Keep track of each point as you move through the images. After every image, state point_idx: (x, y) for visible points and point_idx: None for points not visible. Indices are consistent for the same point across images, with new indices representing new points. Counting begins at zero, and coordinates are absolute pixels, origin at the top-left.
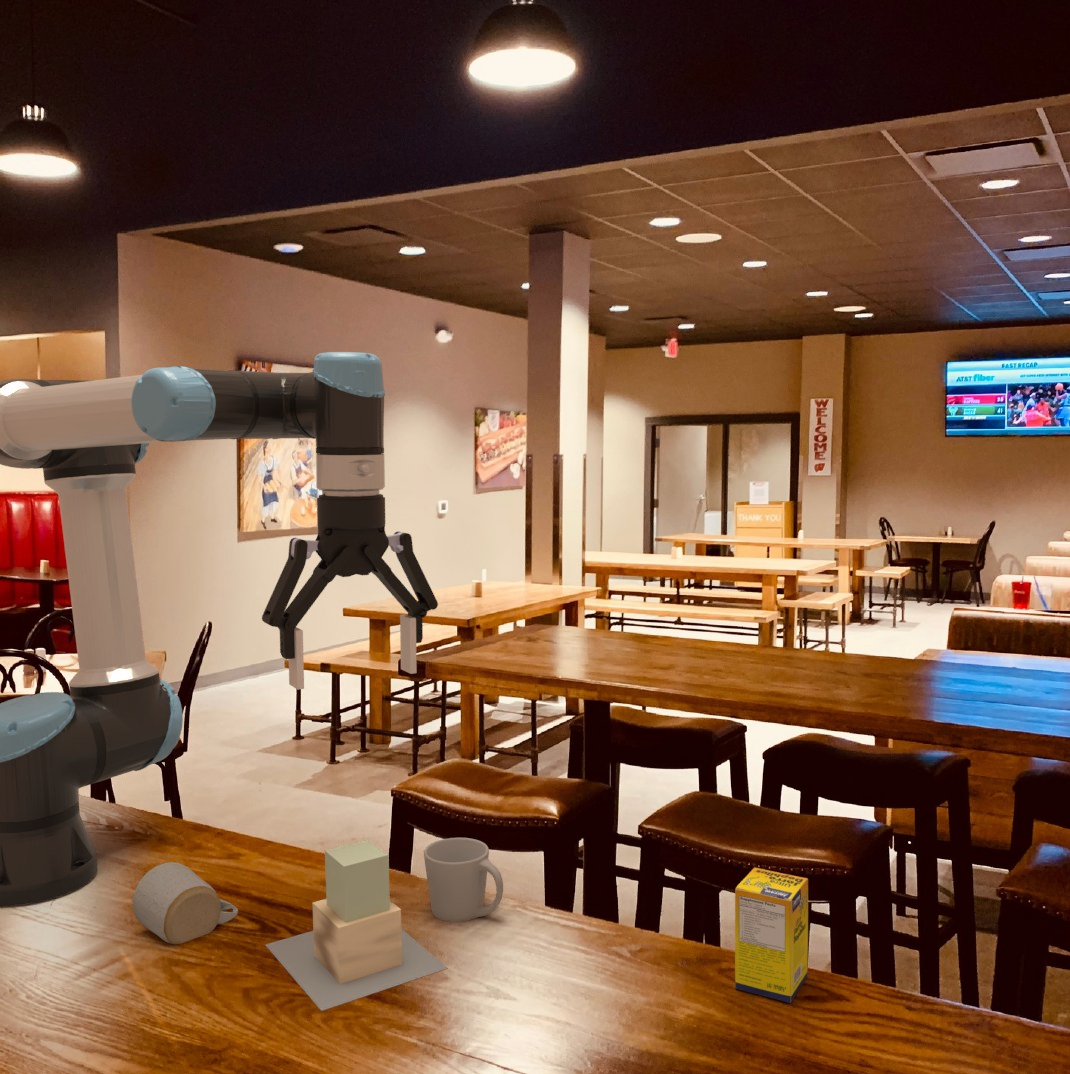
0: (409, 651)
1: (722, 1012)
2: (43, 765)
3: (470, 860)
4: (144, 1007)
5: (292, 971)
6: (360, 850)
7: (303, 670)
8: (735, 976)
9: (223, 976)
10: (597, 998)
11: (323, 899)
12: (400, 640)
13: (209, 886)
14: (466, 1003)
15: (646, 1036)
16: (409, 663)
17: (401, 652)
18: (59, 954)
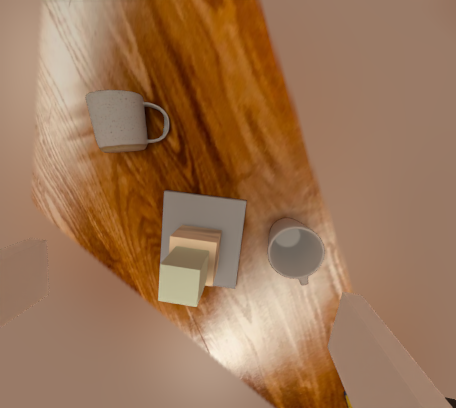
0: (357, 406)
1: (320, 396)
2: None
3: (290, 277)
4: (93, 197)
5: (164, 232)
6: (183, 284)
7: (2, 325)
8: (346, 398)
9: (138, 196)
10: (283, 349)
11: (177, 237)
12: (395, 370)
13: (129, 140)
14: (228, 308)
15: (276, 383)
16: (340, 364)
17: (366, 335)
18: (64, 98)
